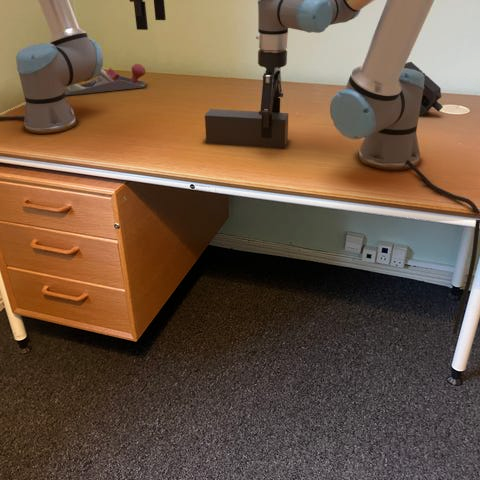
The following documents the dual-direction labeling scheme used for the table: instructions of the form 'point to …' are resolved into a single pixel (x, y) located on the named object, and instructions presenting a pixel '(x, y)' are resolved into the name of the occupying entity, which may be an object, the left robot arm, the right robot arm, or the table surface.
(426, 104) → the tool
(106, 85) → the hand plane
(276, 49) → the right robot arm
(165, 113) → the table surface
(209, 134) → the bar
